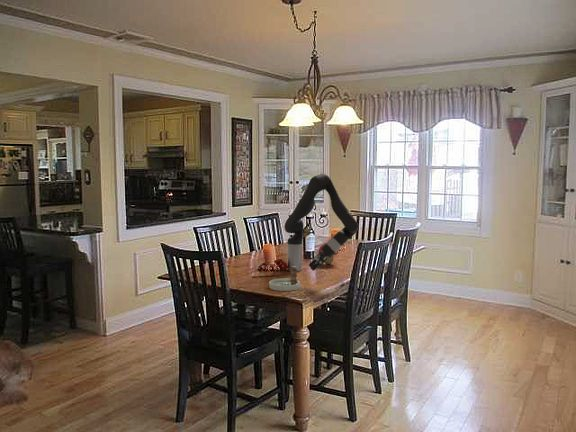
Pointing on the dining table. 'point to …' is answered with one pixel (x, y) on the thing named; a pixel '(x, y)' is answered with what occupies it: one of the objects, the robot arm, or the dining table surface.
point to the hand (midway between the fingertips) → (310, 268)
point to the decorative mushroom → (329, 260)
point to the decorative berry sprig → (279, 262)
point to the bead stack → (293, 275)
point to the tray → (283, 285)
